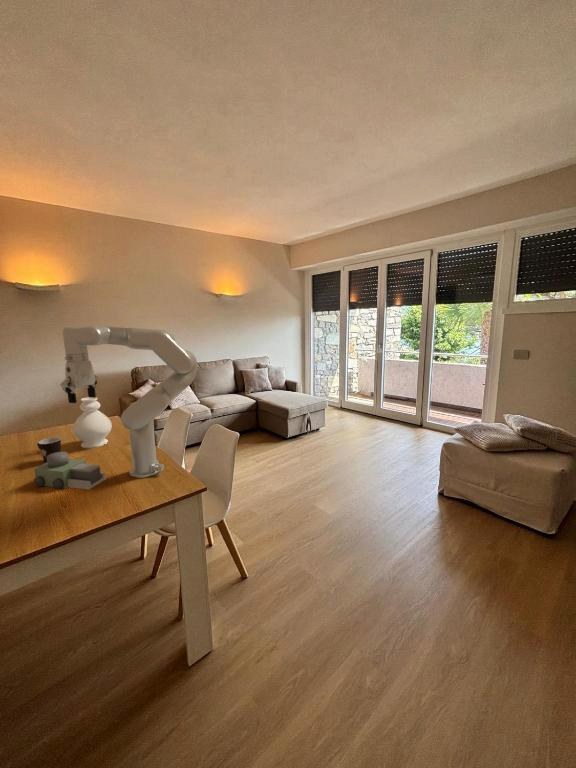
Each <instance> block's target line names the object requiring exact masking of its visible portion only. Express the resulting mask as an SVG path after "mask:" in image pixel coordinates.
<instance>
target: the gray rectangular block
mask: <svg viewBox="0 0 576 768" xmlns="http://www.w3.org/2000/svg"><path fill="white" fill-rule="evenodd" d="M100 472H101V466H100V464H91V463H86V464H83V463H81V464H79V465H77V466H75V467H73V468H71V474H72V479H77V480H85V481H91V485H92V484H94V483H95V482H97V481H98V480H100V479H101V473H100Z"/></svg>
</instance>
